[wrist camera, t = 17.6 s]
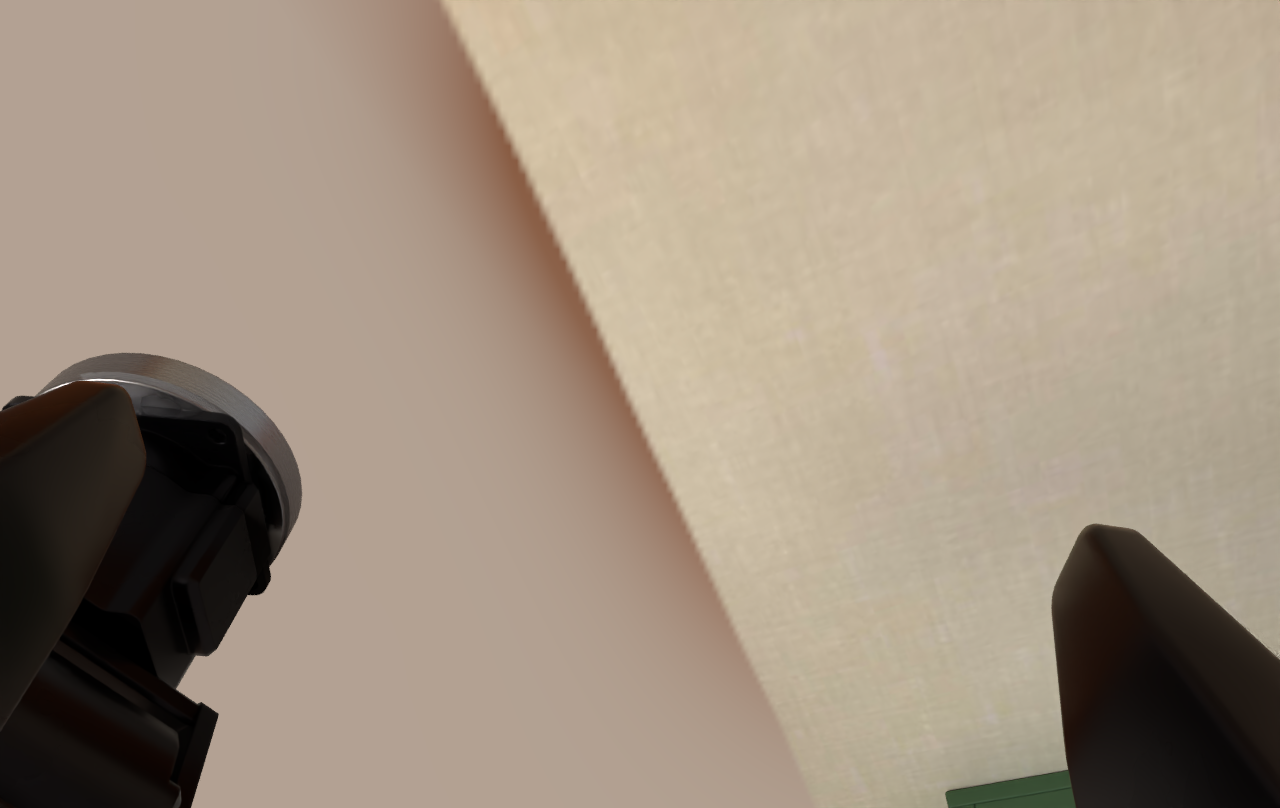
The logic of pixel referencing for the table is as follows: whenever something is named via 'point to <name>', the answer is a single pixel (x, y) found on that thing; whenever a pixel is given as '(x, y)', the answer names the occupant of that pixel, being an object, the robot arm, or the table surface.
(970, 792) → the bin
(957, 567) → the table surface
